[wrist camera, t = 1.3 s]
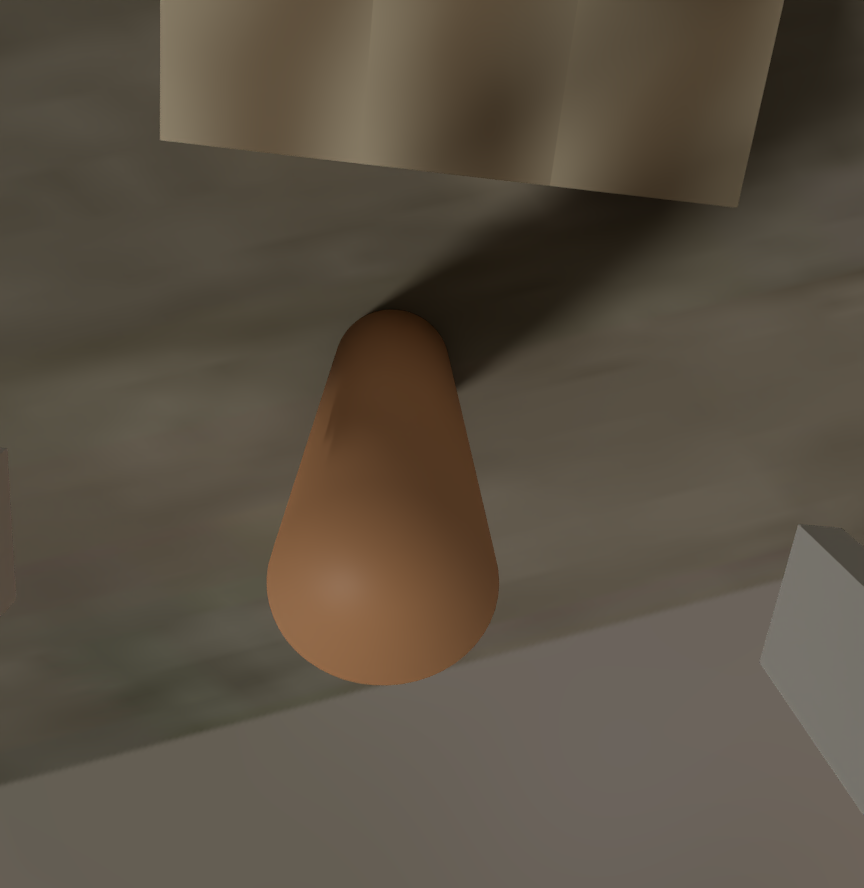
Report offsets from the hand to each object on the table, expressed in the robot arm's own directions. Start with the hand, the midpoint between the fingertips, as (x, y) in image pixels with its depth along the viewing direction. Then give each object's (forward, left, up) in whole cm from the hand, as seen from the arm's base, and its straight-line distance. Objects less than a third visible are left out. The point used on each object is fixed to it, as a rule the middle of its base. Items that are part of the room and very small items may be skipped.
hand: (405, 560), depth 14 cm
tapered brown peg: (0, 0, -13) cm, 13 cm away
